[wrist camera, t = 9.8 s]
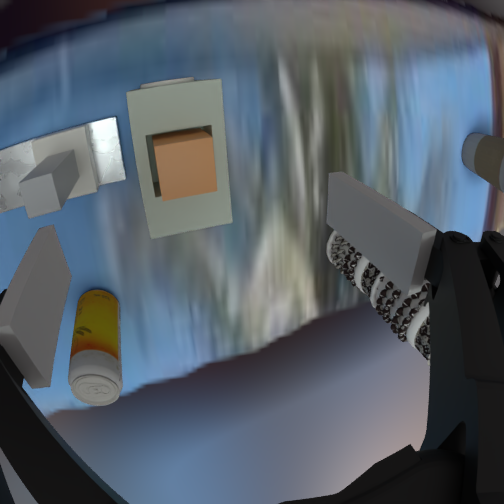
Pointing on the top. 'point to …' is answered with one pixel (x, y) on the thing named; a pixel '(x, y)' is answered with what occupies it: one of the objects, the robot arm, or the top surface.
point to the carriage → (59, 171)
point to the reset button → (185, 163)
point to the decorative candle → (384, 294)
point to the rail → (22, 163)
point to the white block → (170, 120)
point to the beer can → (96, 349)
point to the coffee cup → (485, 157)
